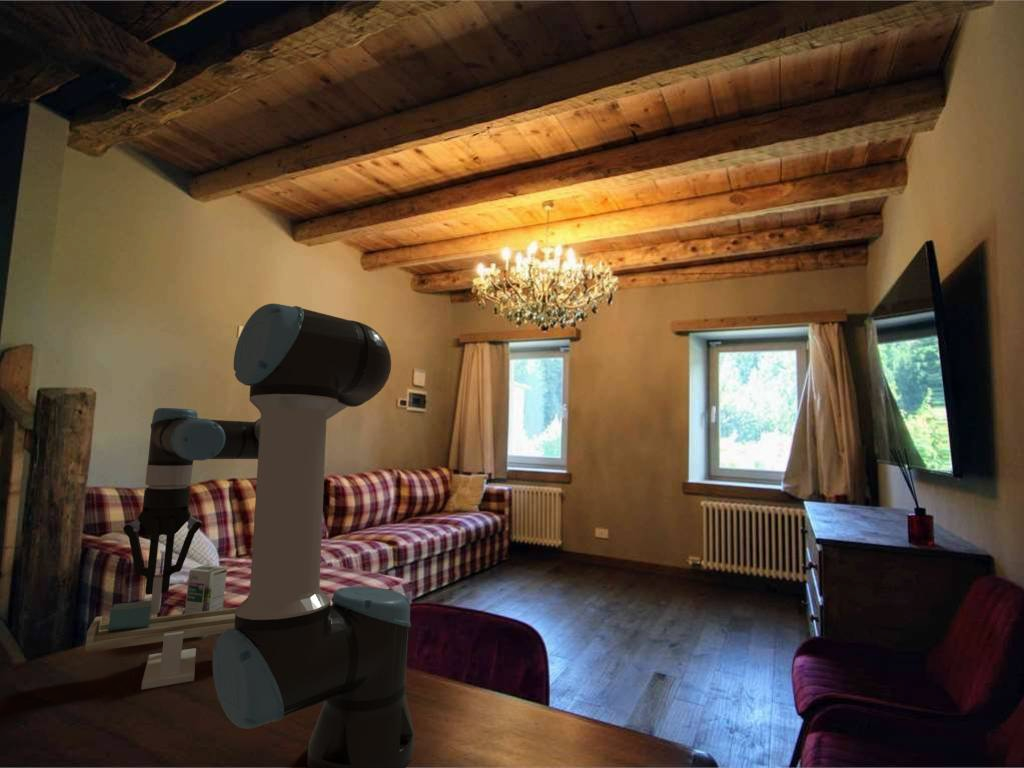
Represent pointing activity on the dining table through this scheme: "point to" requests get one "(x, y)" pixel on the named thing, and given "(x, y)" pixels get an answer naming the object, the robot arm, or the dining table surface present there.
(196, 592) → the syrup box
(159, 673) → the pivot stand
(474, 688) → the dining table surface
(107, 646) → the balance beam
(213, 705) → the dining table surface
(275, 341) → the robot arm
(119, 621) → the rider
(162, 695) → the dining table surface
